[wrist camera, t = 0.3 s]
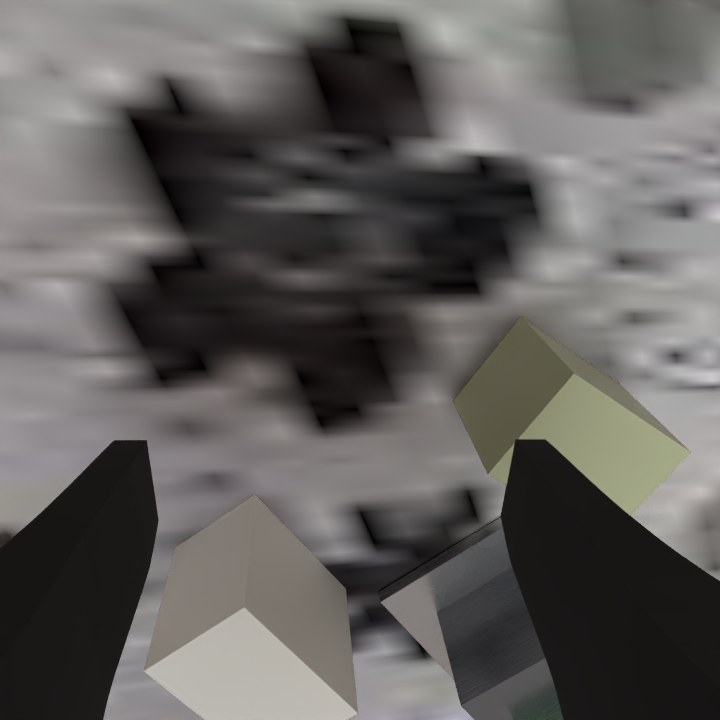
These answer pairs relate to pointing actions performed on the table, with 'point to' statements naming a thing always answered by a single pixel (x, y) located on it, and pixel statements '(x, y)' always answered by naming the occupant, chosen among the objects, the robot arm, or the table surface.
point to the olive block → (565, 417)
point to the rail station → (478, 628)
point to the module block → (253, 625)
